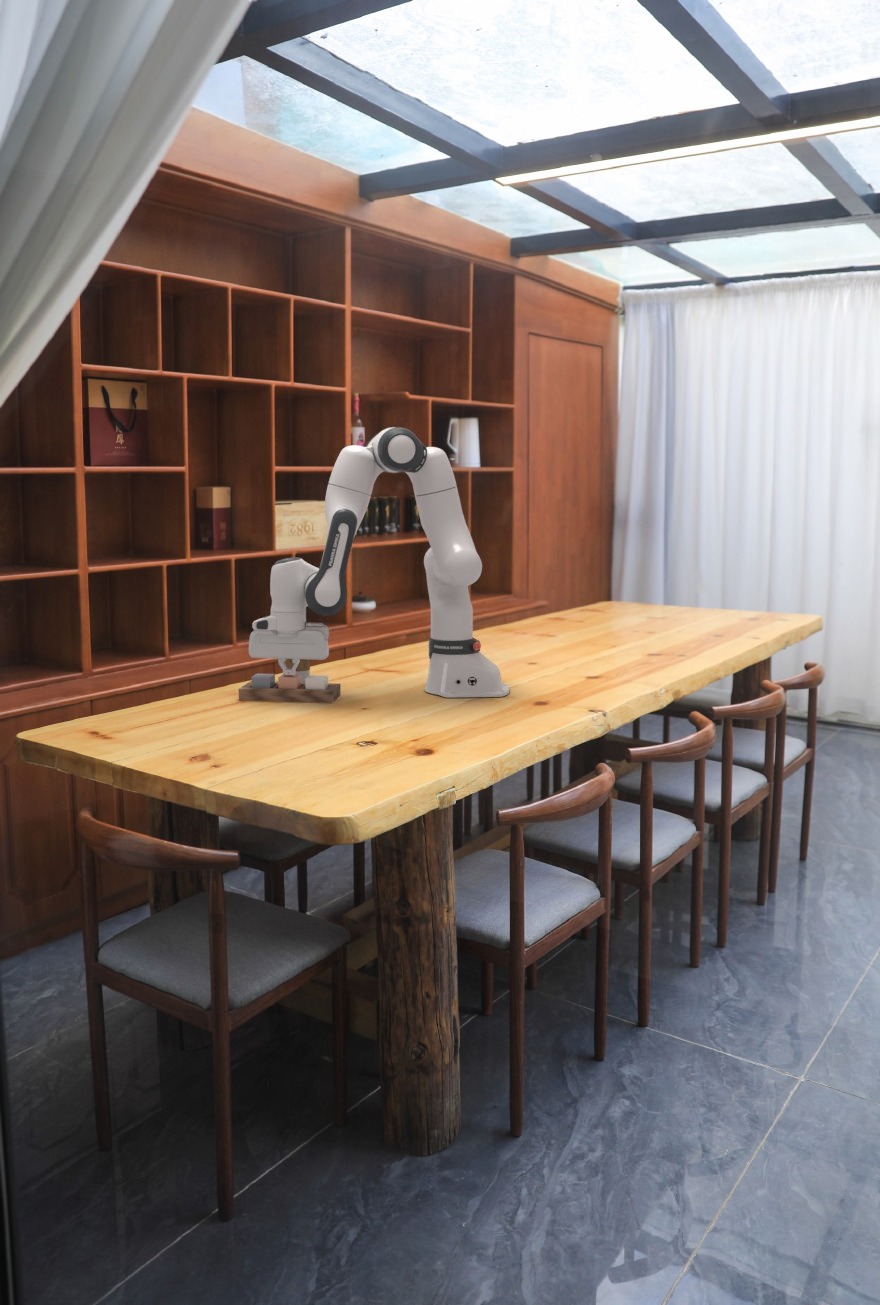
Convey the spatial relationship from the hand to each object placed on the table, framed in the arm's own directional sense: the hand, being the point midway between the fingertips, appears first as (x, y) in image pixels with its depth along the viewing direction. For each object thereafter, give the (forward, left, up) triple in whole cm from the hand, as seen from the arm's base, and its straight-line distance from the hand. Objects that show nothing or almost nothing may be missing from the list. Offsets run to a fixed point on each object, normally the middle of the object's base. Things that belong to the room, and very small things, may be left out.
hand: (289, 675), depth 260 cm
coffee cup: (+3, -20, -6) cm, 21 cm away
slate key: (+7, 0, -4) cm, 8 cm away
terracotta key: (0, 0, -4) cm, 4 cm away
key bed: (0, 0, -6) cm, 6 cm away
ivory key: (-7, 0, -4) cm, 8 cm away
